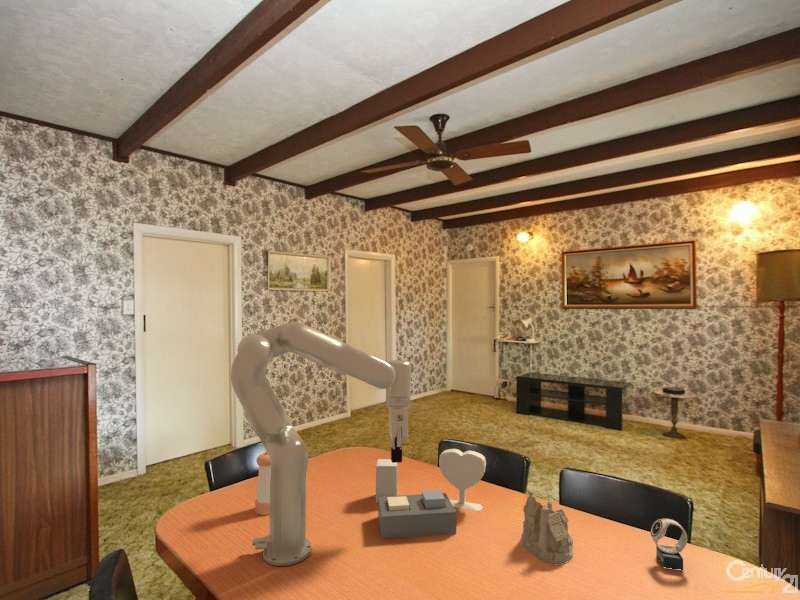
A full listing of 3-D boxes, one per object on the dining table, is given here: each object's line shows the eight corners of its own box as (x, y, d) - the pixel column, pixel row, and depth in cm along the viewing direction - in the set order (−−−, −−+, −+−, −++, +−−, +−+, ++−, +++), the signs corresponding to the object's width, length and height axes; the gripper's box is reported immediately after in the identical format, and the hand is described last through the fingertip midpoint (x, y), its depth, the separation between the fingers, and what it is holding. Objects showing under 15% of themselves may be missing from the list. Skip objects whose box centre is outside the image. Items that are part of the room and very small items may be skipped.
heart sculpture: (438, 504, 141) (438, 451, 141) (441, 498, 145) (441, 446, 146) (484, 512, 135) (484, 456, 136) (486, 505, 140) (486, 451, 141)
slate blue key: (425, 516, 125) (425, 499, 125) (421, 507, 131) (421, 491, 131) (445, 515, 125) (445, 498, 126) (440, 506, 131) (440, 490, 132)
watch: (648, 555, 111) (647, 513, 112) (682, 559, 109) (681, 517, 110) (655, 567, 106) (654, 523, 106) (691, 572, 104) (690, 528, 104)
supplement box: (396, 503, 141) (397, 466, 142) (375, 503, 141) (375, 466, 142) (397, 494, 149) (397, 458, 149) (376, 494, 149) (377, 458, 149)
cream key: (389, 523, 123) (389, 506, 123) (387, 513, 129) (387, 497, 129) (409, 521, 124) (409, 504, 124) (406, 512, 130) (406, 496, 130)
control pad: (381, 538, 119) (381, 516, 119) (378, 516, 132) (378, 496, 132) (456, 533, 122) (456, 511, 122) (445, 512, 135) (445, 492, 135)
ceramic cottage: (545, 567, 106) (546, 506, 107) (510, 536, 122) (512, 483, 123) (595, 561, 110) (596, 502, 112) (556, 532, 126) (557, 481, 127)
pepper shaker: (281, 505, 140) (282, 447, 140) (273, 515, 133) (273, 455, 133) (261, 504, 141) (261, 447, 141) (251, 514, 133) (252, 454, 134)
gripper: (414, 406, 121) (412, 470, 120) (406, 396, 135) (404, 453, 135) (388, 406, 120) (386, 470, 119) (383, 396, 134) (381, 453, 134)
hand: (396, 461), depth 127 cm, fingers closed
